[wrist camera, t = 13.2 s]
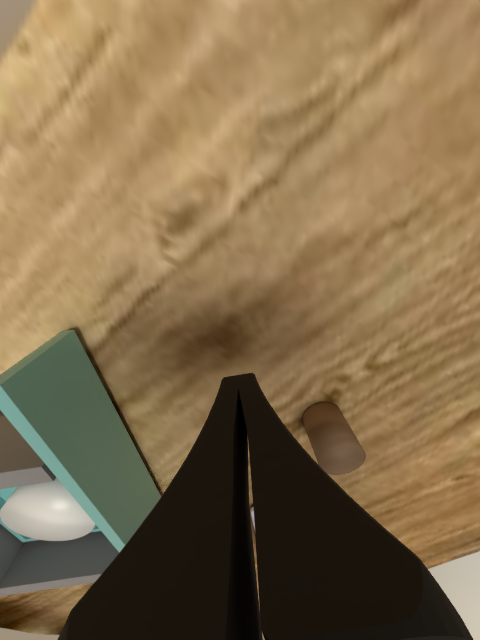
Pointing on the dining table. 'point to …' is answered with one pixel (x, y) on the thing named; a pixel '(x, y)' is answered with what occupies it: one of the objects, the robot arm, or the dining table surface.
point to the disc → (45, 513)
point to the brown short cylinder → (332, 439)
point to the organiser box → (42, 556)
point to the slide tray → (78, 436)
